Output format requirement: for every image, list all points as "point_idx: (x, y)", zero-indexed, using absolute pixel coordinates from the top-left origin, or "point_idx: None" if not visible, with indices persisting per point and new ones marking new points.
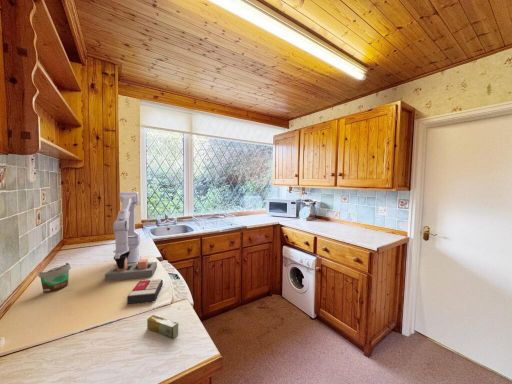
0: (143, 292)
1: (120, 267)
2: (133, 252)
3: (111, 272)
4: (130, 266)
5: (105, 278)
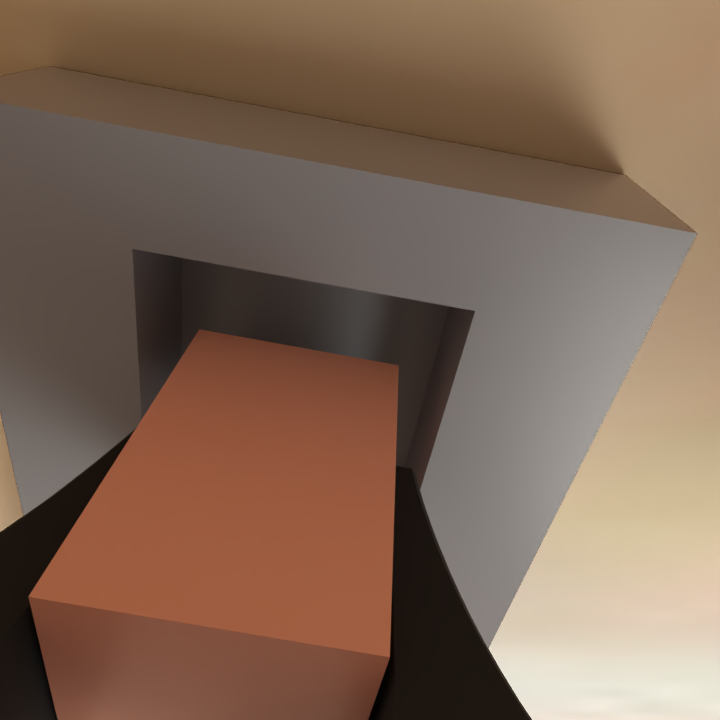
0: None
1: None
2: None
3: (64, 244)
4: None
5: (14, 76)
